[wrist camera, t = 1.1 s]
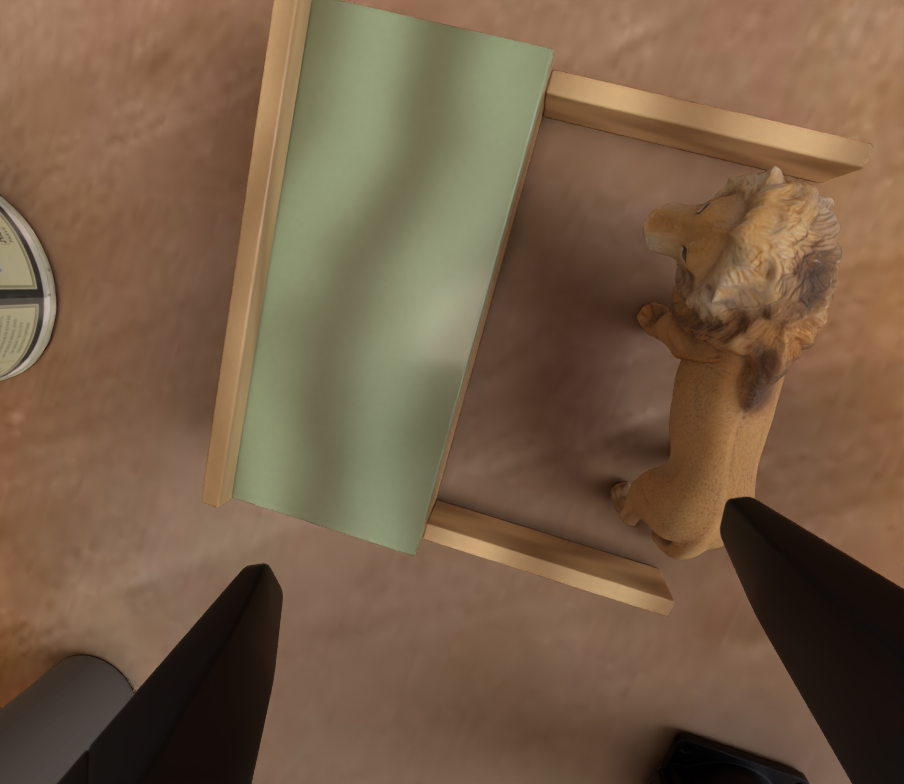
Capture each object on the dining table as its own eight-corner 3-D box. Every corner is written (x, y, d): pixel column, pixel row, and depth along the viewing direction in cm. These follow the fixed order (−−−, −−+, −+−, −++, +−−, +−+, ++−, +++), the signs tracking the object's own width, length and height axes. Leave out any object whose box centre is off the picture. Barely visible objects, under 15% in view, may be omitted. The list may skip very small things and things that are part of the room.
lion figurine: (606, 214, 20) (668, 160, 11) (746, 202, 19) (930, 134, 10) (607, 541, 23) (657, 697, 14) (728, 543, 22) (859, 709, 13)
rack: (830, 161, 18) (938, 118, 14) (653, 582, 23) (687, 661, 18) (336, 45, 20) (276, -31, 15) (263, 460, 25) (199, 503, 20)
